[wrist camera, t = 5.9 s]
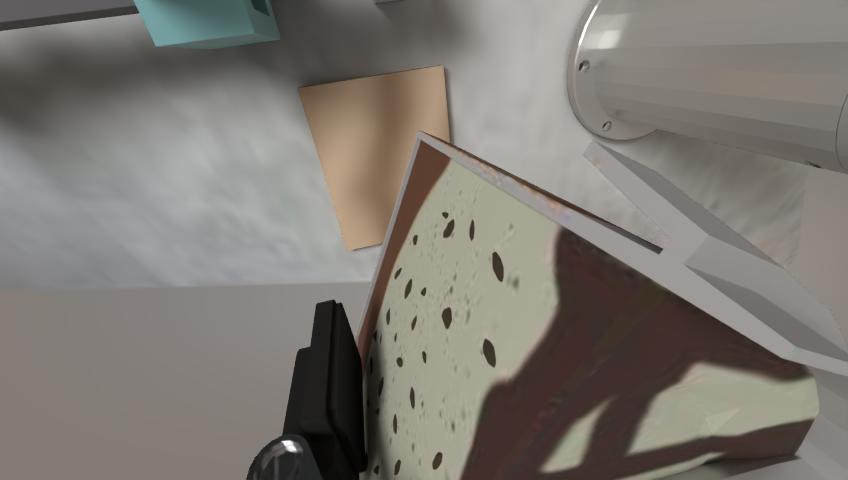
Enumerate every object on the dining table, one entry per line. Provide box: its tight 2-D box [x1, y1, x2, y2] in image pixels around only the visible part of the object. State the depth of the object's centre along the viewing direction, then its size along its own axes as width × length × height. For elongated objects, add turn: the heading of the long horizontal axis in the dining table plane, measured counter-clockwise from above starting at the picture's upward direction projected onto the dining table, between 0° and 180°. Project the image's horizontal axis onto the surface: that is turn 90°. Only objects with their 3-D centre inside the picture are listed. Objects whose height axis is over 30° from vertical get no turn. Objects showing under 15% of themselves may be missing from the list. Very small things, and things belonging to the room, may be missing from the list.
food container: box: [355, 130, 848, 480], centre depth 9 cm, size 12×6×10 cm, turn 162°
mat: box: [298, 65, 450, 251], centre depth 25 cm, size 10×13×1 cm
